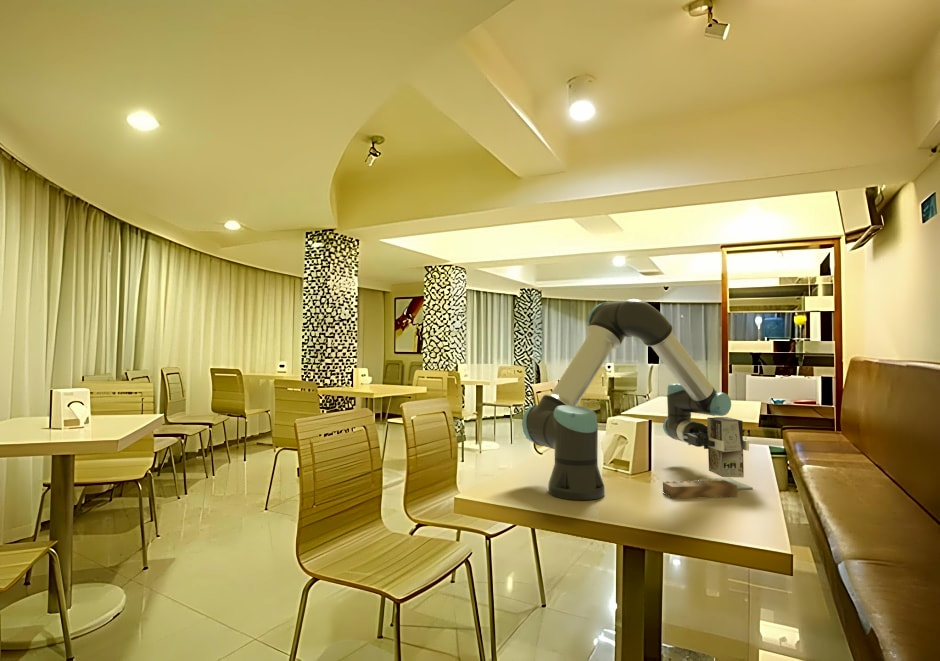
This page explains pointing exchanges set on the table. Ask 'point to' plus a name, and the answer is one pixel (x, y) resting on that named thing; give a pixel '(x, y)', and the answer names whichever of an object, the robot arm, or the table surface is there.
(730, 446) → the coffee box
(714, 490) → the perforated block
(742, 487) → the stub pad
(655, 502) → the table surface
